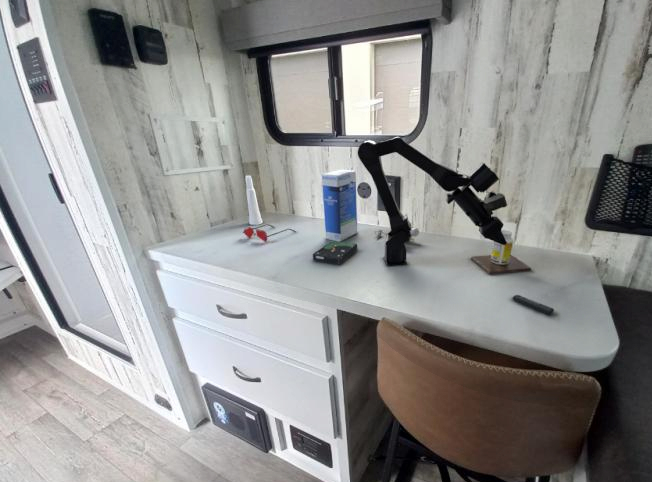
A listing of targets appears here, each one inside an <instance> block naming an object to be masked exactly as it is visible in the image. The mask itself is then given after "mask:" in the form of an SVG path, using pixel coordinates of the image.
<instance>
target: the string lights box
mask: <svg viewBox="0 0 652 482" xmlns="http://www.w3.org/2000/svg"><path fill="white" fill-rule="evenodd" d="M321 184H322V199H323V212H324V214H323V215H324V228H325V239H326V240H329V241H337V242H344V240H346V239H349V238H350V237H352V236H354V235H356V234H357V233H358V211H357V173H356V170H352V169H351V170H350V169H338V170H334V171H329V172H323V173H321Z"/></svg>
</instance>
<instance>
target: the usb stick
mask: <svg viewBox="0 0 652 482" xmlns="http://www.w3.org/2000/svg"><path fill="white" fill-rule="evenodd" d="M512 300H513V302H516V303H518V304H521V305H524V306H526V307H528V308H530V309H534V310H535V311H537V312H539V313H542V314H545V315H548V316H551V315H552V314H553V313H554V312H555V309H554V307H550V306H548V305H546V304H543V303H540V302H538V301H535V300H533V299H531V298H528V297H524V296H523V295H520V294H515V295H513V297H512Z"/></svg>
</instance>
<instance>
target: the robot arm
mask: <svg viewBox="0 0 652 482" xmlns="http://www.w3.org/2000/svg"><path fill="white" fill-rule="evenodd" d="M394 153H396V154H398V155H400V156H401V157H402V158H404V159H405V160H407V161H408V162H409V163H411V164H413V165H414V166H416V168H419V169H420V170H422V171H423V172H425V173H426V174H428V175H429V177H430V178H432V179H433V181H435V183H436V184H437V185H438V186H439V187H440V188H442V189H443V190H444V192H448V193H446V200H445V201H446V203H447V205H450V204H451V203H452V202H453V201H454V202H455V204H456V205H457V206H458V207H459V208H460V210H461V211H462V212H463V213H464V214H465V215H466V217H468V218H469V219H470V221H471V222H472V223H473V224H474V226H476V227H478V232H479V233H480V235H481V236H482V237H483V238H484V239H486V240H490V241H493V242H494V241H495V242H497V243H500V244H502V245H506V244H507V242H506V240H505V238H504V236H503V234H502V232H501V230H503V227H504V223H503V221H501V219H500V218H499V217H498V216H492V215H494V212H495V211H497V210H499V209H502V208H503V209H504V208H506V207H508V203H507V199H506V196H505V195H504V194H503V193H499V192H498V193H496V192H494V191H493V190H492V191H489V192H488V193H487V197H486V198H484V199H483V200H482V199H481V198H479V196H478V195H477V194H479V193H480V194H481V193H482V194H483V193H485V192H486V191H487V190H489V189H490V188H491V187H492V186H493V185H495V184H496V183H497V182H498V181H500V178H499V177H498V175H497V174H496V173H495V171H493V170H492V169H491V168H490V167H489V166H488V165H487V164H486V163H485V162H480V164H479V165H478V166H477V168H475V170H474V171H472V172H471V173H470V174H468V175H467V174H463V173H462V174H461V173H458V172H457V171H456V170H454V169H453V168H450V167H448V166H446V165H443V164H440V163H438V162H435V161H434V160H432V159H431V158H430V157H428V156H427V155H425V154H424V153H422V152H421V151H420V150H418V149H416V148H415V147H414V146H412V145H410V144H409V143H407V141H405V140H404V139H403V138H402V137H400V136H396V137H393V138H390V139H386V140H382V141H378V142H375V141H373V140H367V141H364V142H363V143H361V144H360V145H359V146H358V149H357V157H358V159H359V160H360V162H361V163H362V165H363V166H364V168H365V169H366V171H367V172H368V173H369V174H370V176H371V179H372V181H373V184H374V185H375V188H376V190H377V192H378V195H379V198H380V200H381V202H382V204H383V207H384V209H385V212H386V214H387V216H388V221H389V227H390V231H389V232H387V233H386V234H387V235H386V238H385V243H384V256H383V261H384V262H385V264H386V266H388V267H389V266H400V265H401V266H402V265H407V250H408V249H407V247H406V243H405V242H407V241H408V240H409V239H410V236H411V232H410V230H412V228H413V226H412V223H411V222H410V220H409V217H408V213H404V214H403V213H402V212H401V210H400V208H399V206H398V204H397V203H398V202H397V200H396V198H395V195H394V193H393V191H392V188H391V186H390V183H389V181H388V179H387V176H386V173H385V171H384V168H383V161H382V157H383V156H387V155H390V154H391V155H392V154H394ZM471 187H472V188H473V190H474V191H473V190H472V189H471ZM476 193H477V194H476Z"/></svg>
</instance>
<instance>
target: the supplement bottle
mask: <svg viewBox="0 0 652 482" xmlns="http://www.w3.org/2000/svg"><path fill="white" fill-rule="evenodd" d="M501 232H502V234H503V236H504V238H505V240H506V242H507V244H506V245H502V244H500V243H497V242H495V241H493V244H492V248H491V249H492V251H491V254H490V255H491V261H492V262H493V263H495V264H499V265H505V264H508V263H509V260H510V255H512V250H513V243H514V239H513V238H512V234H513V232H512V231H510V230H507V229H501Z"/></svg>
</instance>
